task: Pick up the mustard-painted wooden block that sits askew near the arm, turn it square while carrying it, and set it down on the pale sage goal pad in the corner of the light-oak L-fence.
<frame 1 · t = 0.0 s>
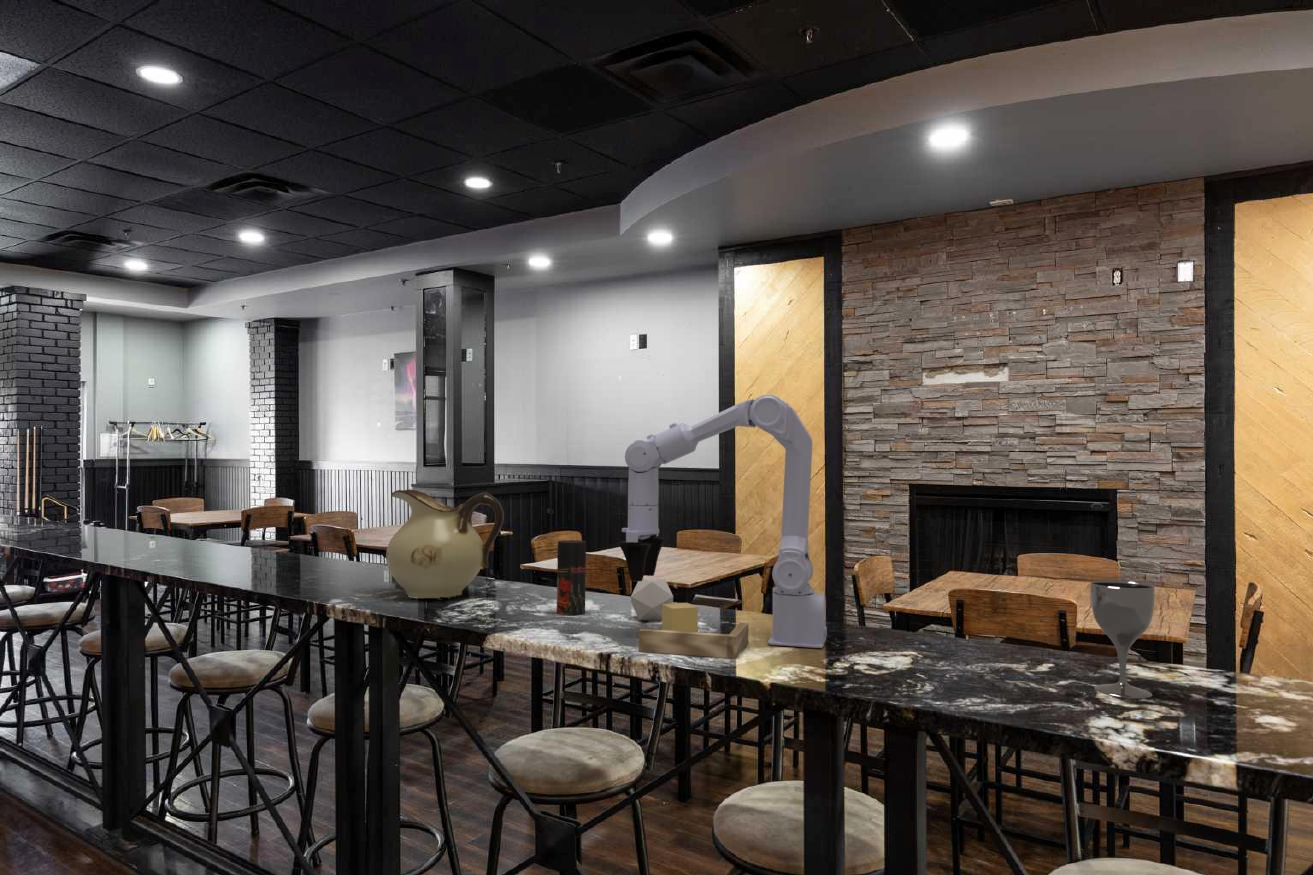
hand: (642, 578, 153), 10 cm above the counter, tool pointing down, fingers open, 7 cm apart
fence: (693, 647, 141), on the counter
pitcher: (437, 596, 194), on the counter
block: (679, 638, 148), on the counter
goal pad: (698, 647, 141), on the counter
die: (651, 619, 167), on the counter
wine glass: (1122, 692, 115), on the counter
deodorant: (570, 613, 173), on the counter
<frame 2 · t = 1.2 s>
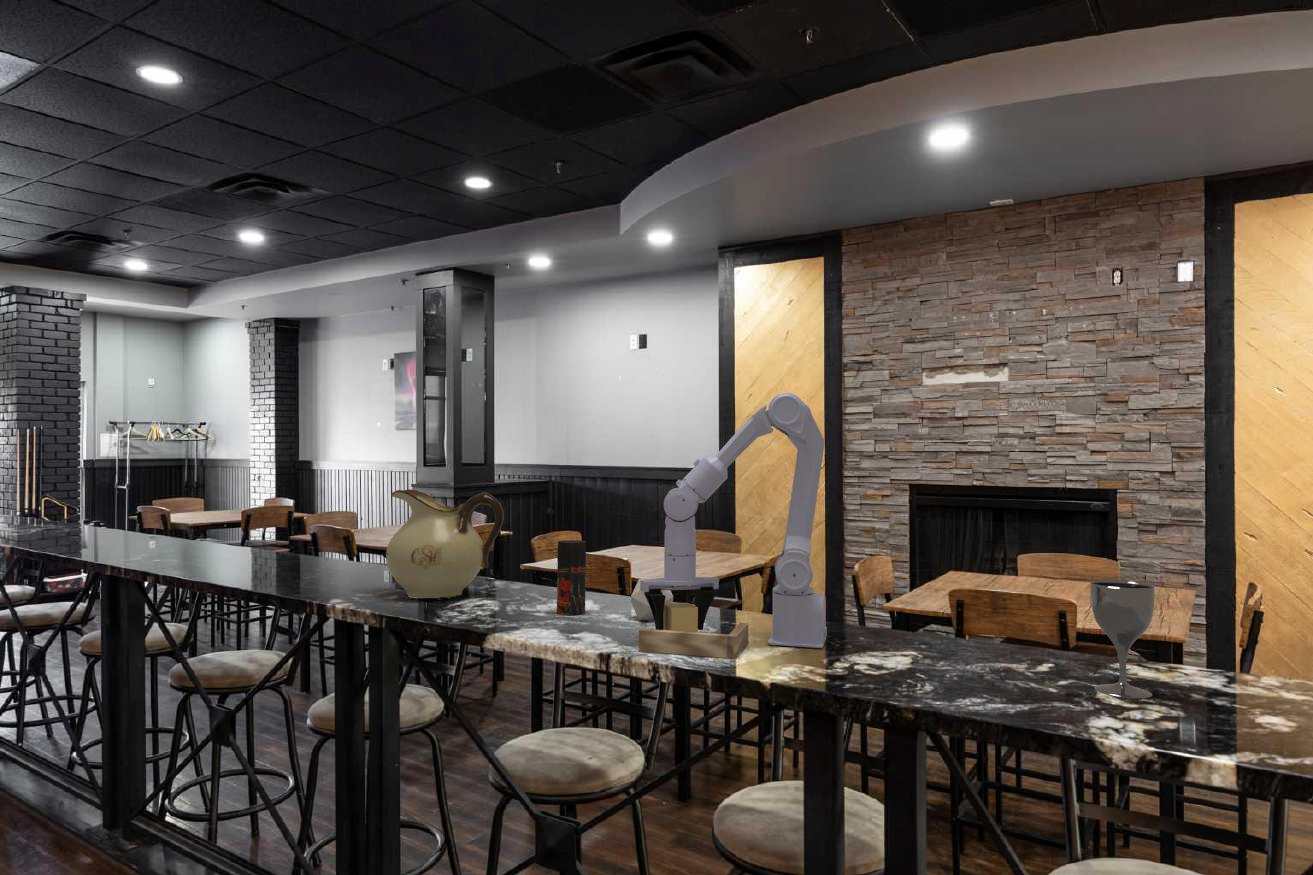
hand: (679, 630, 148), 1 cm above the counter, tool pointing down, fingers open, 7 cm apart
nothing on the counter moved.
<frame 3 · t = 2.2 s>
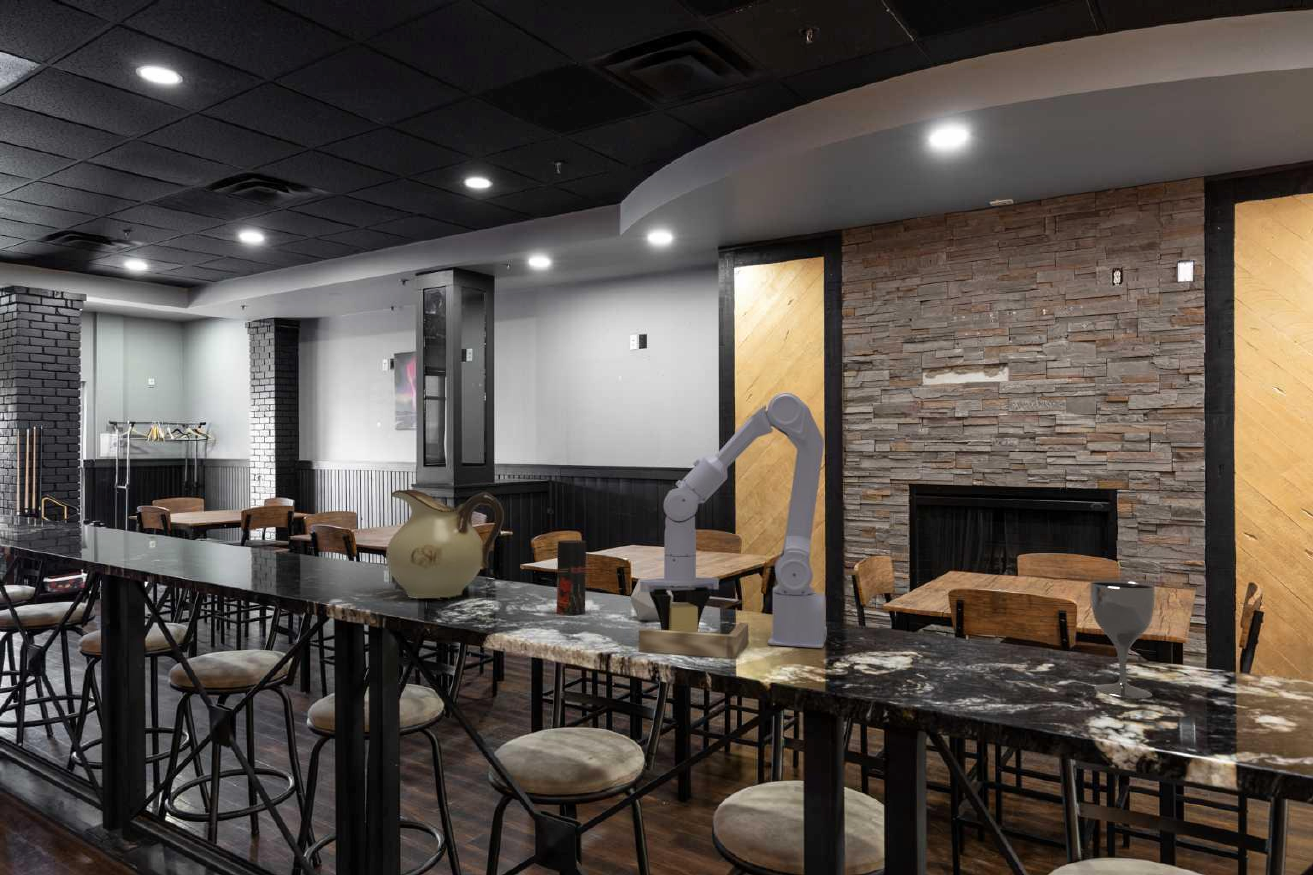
hand: (679, 630, 148), 1 cm above the counter, tool pointing down, fingers closed on block, 5 cm apart
block: (679, 638, 148), on the counter, touching gripper
everything else where it was.
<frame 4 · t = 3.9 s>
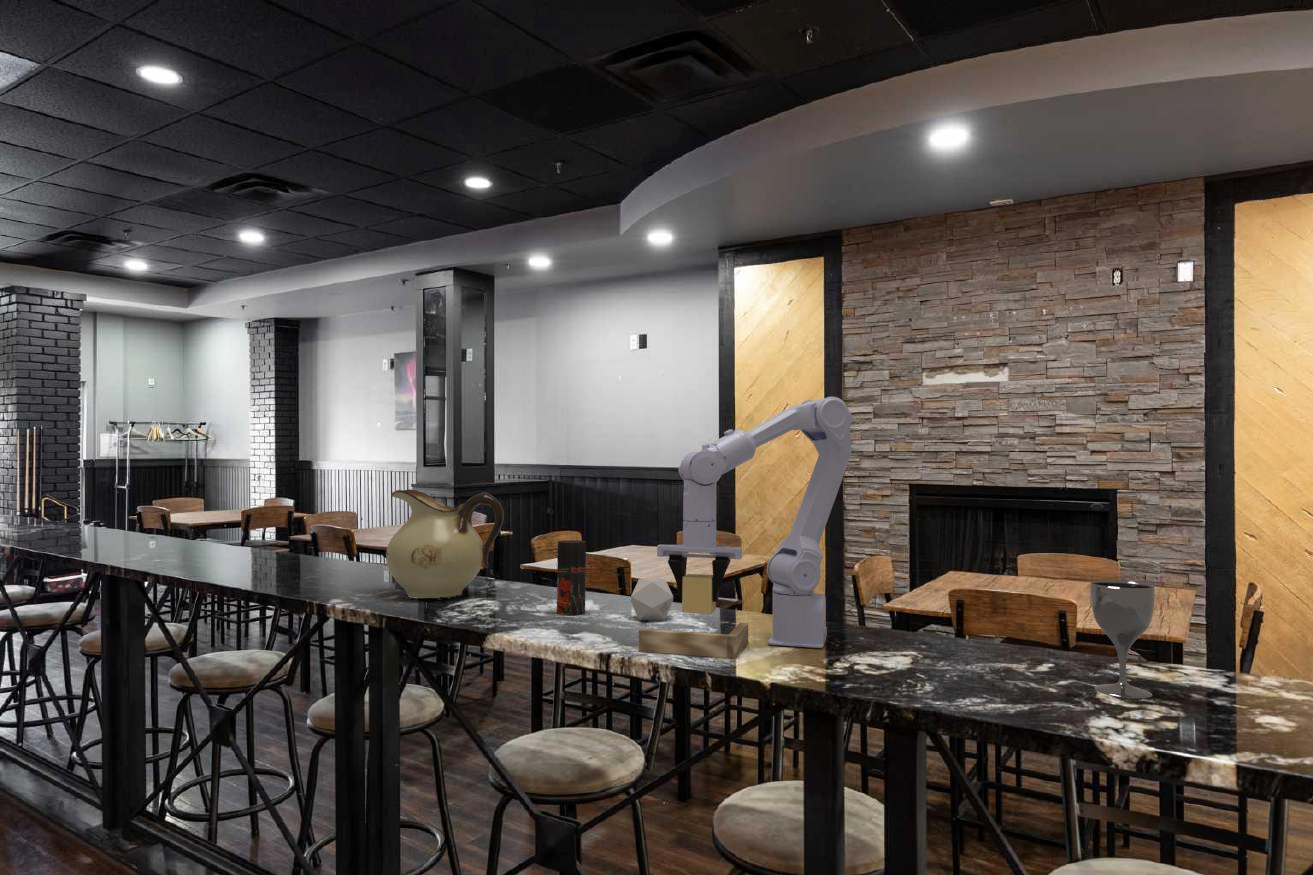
hand: (699, 600, 141), 8 cm above the counter, tool pointing down, fingers closed on block, 5 cm apart
block: (699, 611, 141), point 6 cm above the counter, touching gripper
everything else where it was.
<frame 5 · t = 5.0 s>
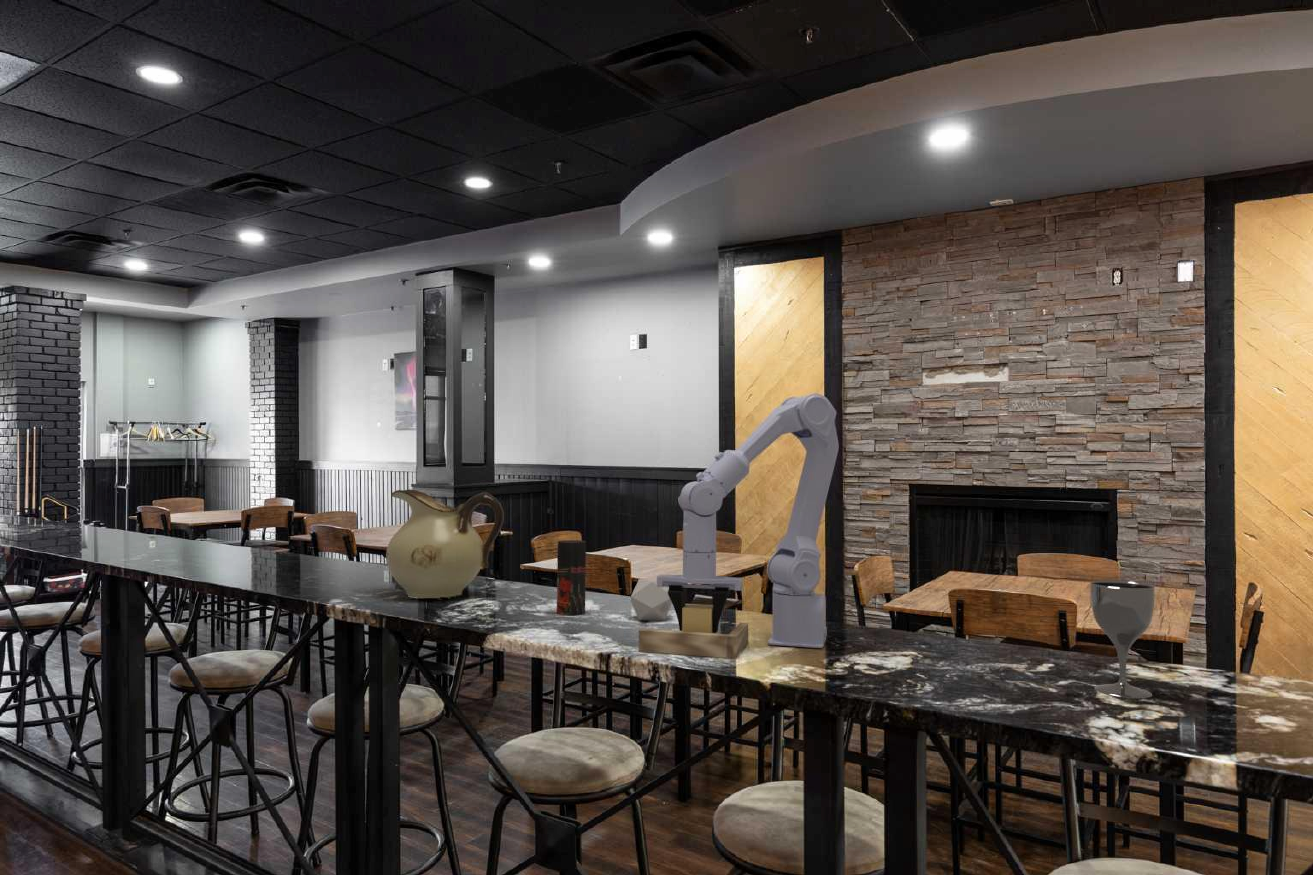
hand: (698, 630, 141), 3 cm above the counter, tool pointing down, fingers closed on block, 5 cm apart
block: (698, 641, 141), point 1 cm above the counter, touching gripper
everything else where it was.
when the fingers open (3 cm above the counter, at t = 5.7 s): block stays where it is, resting on goal pad.
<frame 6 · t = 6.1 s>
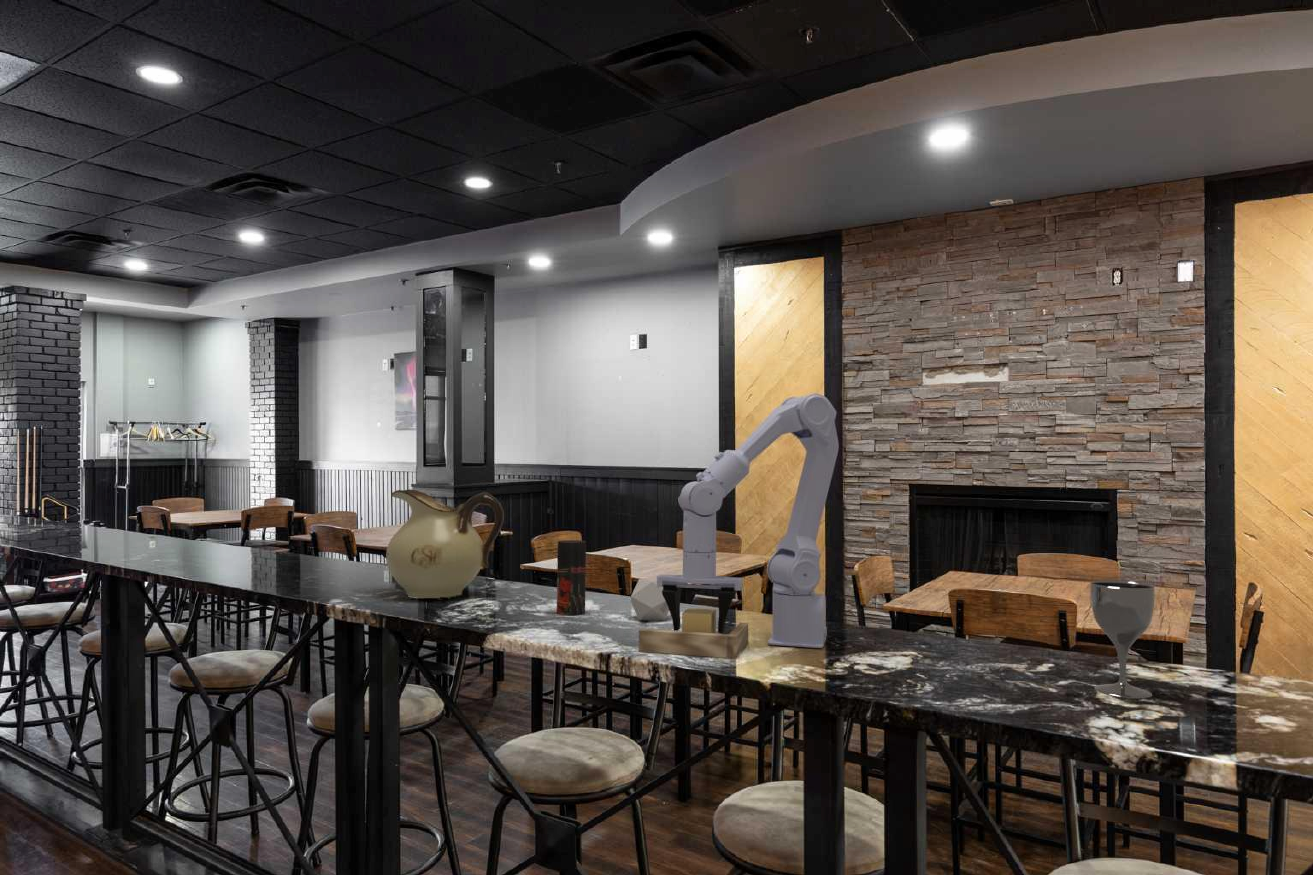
hand: (698, 630, 141), 3 cm above the counter, tool pointing down, fingers open, 7 cm apart
block: (699, 646, 141), resting on goal pad
everything else where it was.
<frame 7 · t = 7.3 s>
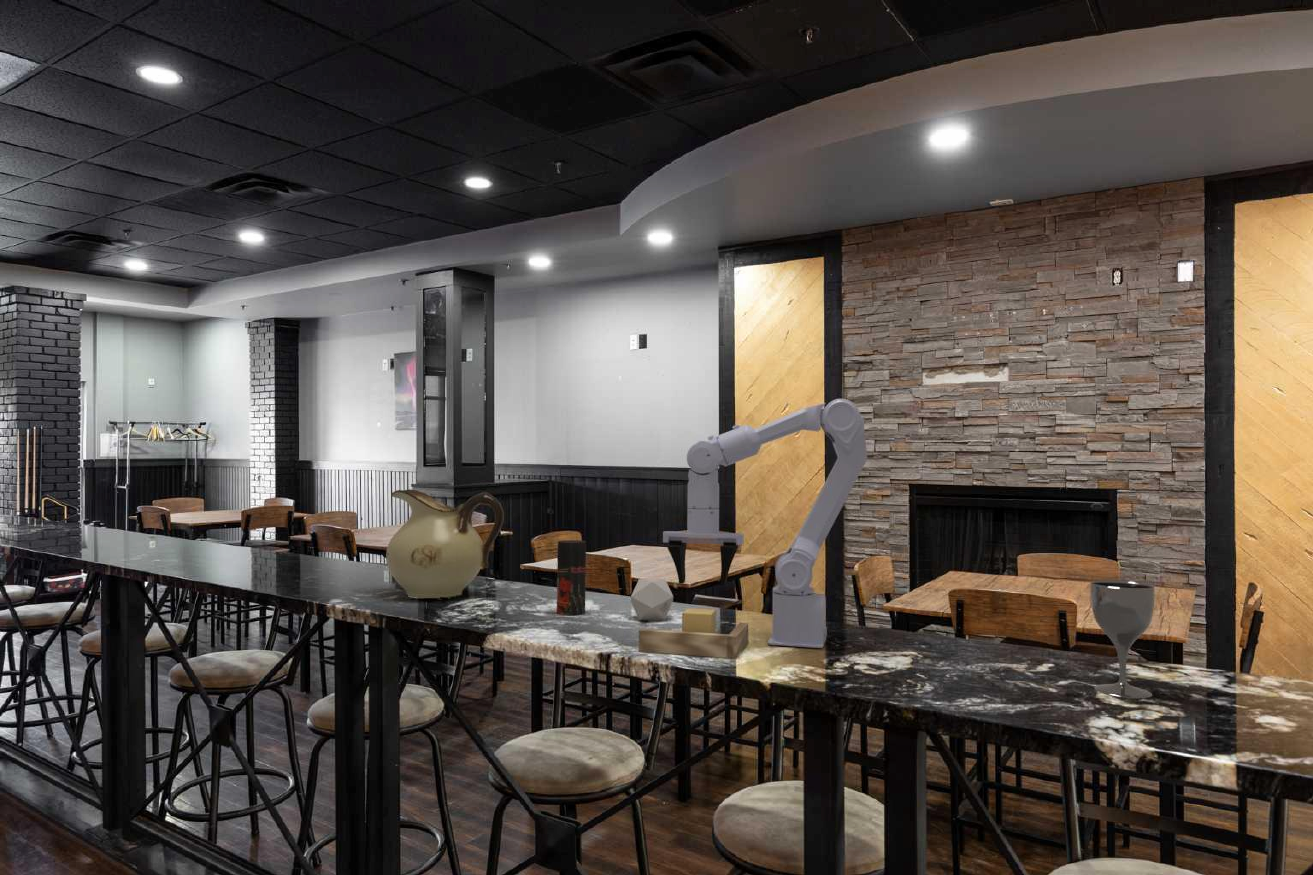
hand: (702, 583, 148), 10 cm above the counter, tool pointing down, fingers open, 7 cm apart
nothing on the counter moved.
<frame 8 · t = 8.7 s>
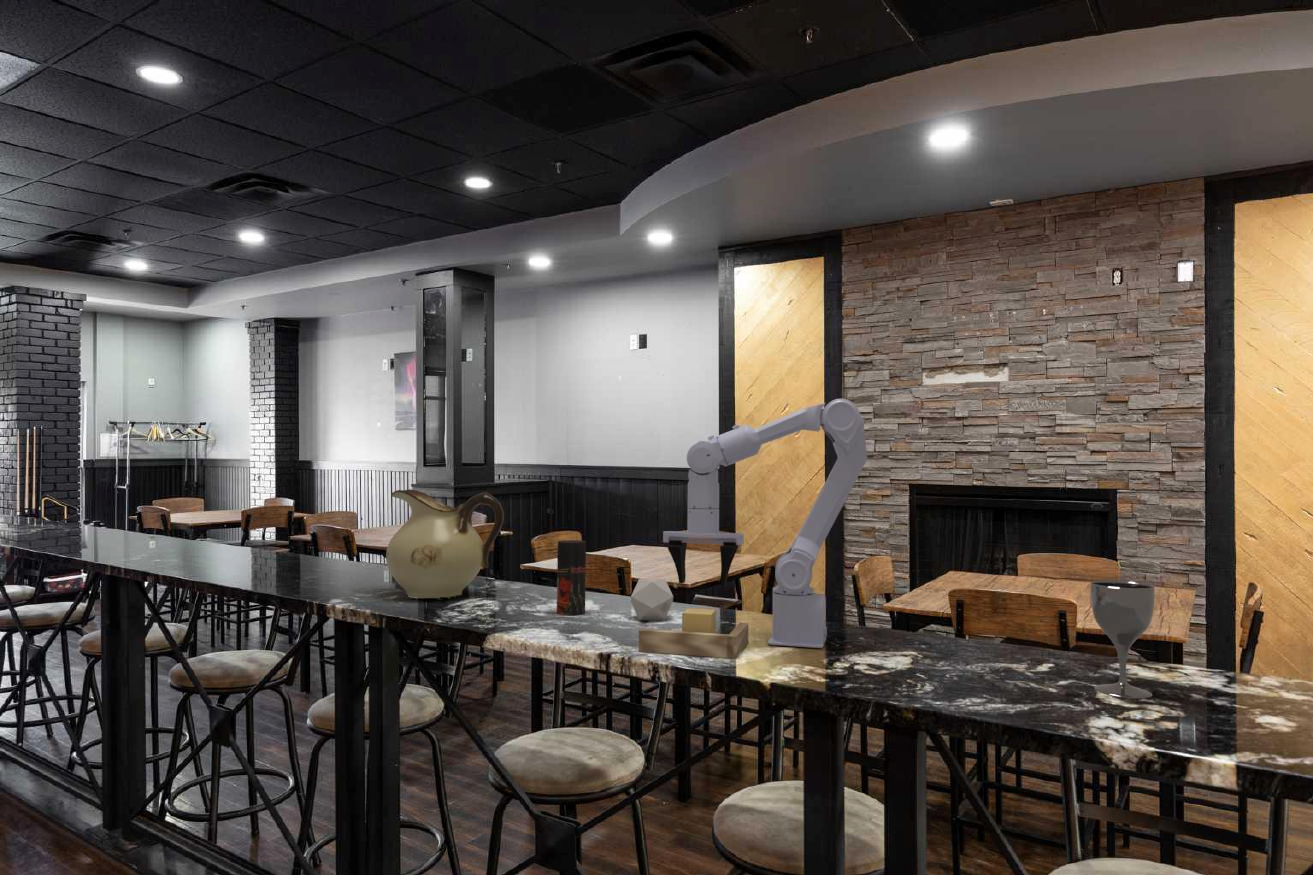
hand: (702, 583, 148), 10 cm above the counter, tool pointing down, fingers open, 7 cm apart
nothing on the counter moved.
at the end: block 0.2 cm from the target spot, resting on goal pad; block tilted 0°; the gripper is holding nothing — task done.
